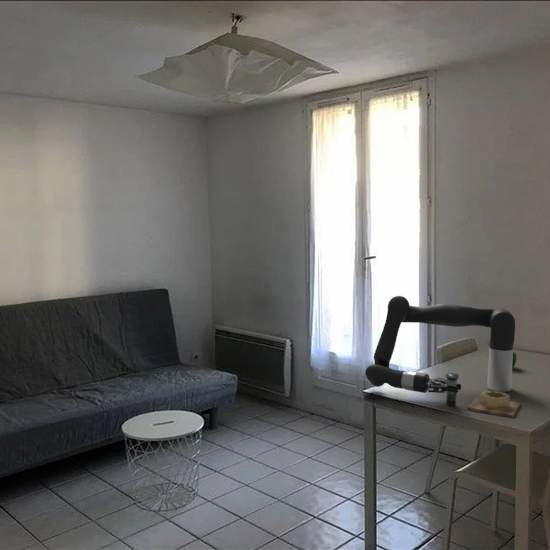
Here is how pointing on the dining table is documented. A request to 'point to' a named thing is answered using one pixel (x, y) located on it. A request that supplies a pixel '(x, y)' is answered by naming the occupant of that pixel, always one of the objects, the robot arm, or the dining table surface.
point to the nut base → (493, 411)
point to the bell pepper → (513, 360)
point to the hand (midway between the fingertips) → (459, 388)
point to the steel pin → (451, 395)
